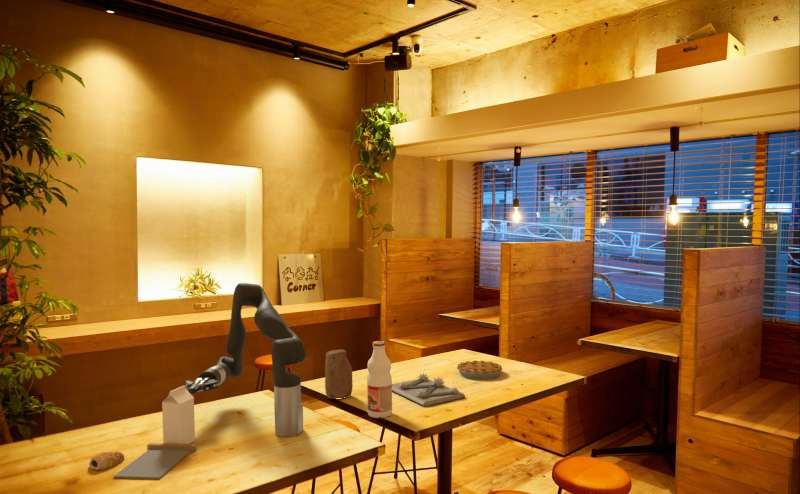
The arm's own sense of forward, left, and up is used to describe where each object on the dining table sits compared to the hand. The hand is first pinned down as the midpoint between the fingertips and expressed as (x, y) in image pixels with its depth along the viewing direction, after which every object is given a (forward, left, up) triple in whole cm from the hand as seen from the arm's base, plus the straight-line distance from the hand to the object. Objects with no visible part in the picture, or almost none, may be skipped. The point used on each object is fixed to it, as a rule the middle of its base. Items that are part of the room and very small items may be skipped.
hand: (191, 391), depth 193 cm
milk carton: (0, +9, -15) cm, 18 cm away
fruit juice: (-64, -23, -15) cm, 70 cm away
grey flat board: (0, +25, -15) cm, 29 cm away
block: (-44, -43, -15) cm, 63 cm away
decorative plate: (-80, -50, -16) cm, 96 cm away
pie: (-105, -82, -16) cm, 134 cm away
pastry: (+15, +26, -16) cm, 34 cm away
